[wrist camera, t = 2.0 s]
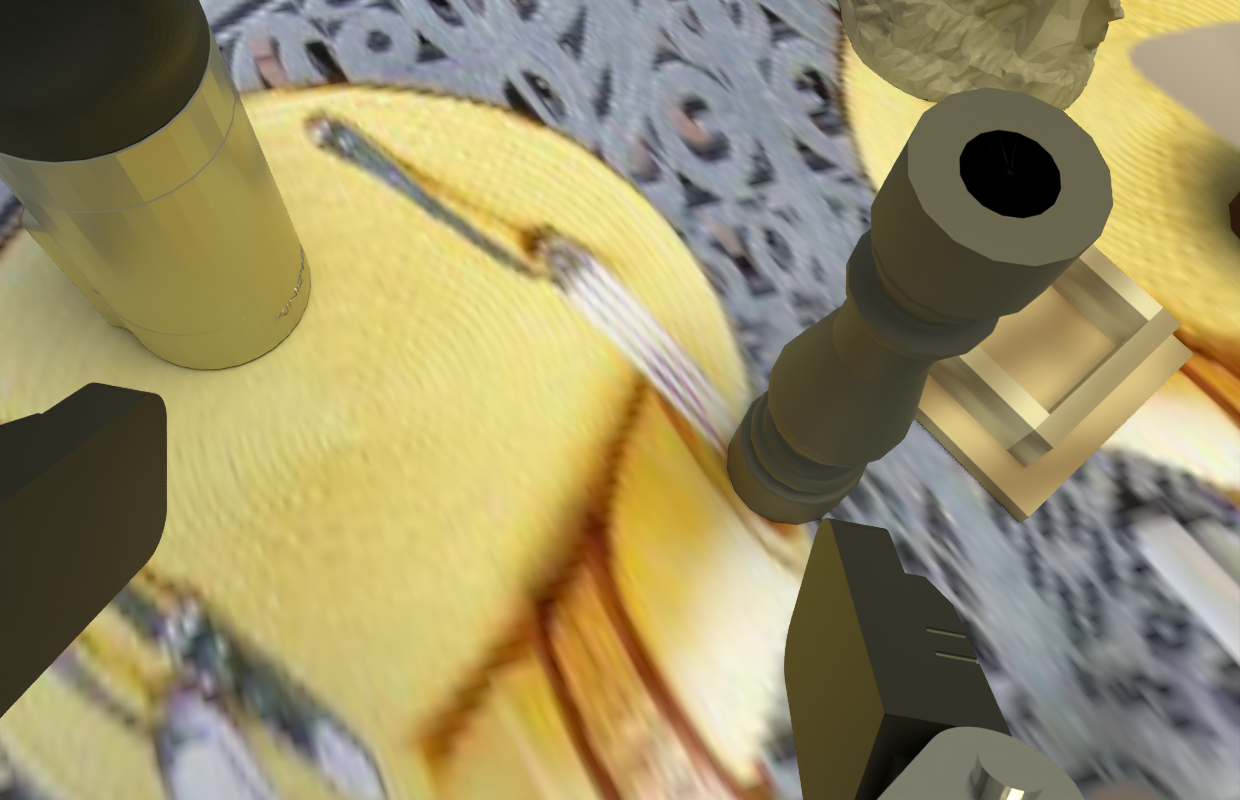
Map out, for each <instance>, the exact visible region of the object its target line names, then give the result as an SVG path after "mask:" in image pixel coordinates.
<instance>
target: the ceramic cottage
mask: <svg viewBox="0 0 1240 800" xmlns="http://www.w3.org/2000/svg"><path fill="white" fill-rule="evenodd" d="M838 1H839V5H840V8H841V17H842V22H843V24H844V27H845V30H846V33H847V35H848V37H850V40H851V41H852V42H853V43H852V46H853V49H854V51H855V52H856V54H857V55H858V56H859V58H860V59H861V60H862V62H863V63H864V64H865V65H866V66H868V67H869V68H870V69H871V70H872V71H874V72H875V73H876V74H878V75H879V76H880V77H881V78H883V79H884V80H885V81H887V82H888V83H890V84H891V85H893V86H896V87H897V88H898V89H900V90H902V91H903V92H905V93H907V94H910V95H912V96H914V97H917V98H919V99H927V100H928V101H929V102H940V101H942V100H943V99H945V98H946V97H948V96H949V95H950V94H954V93H959V92H965V91H970V90H975V89H980V88H985V87H989V88H996V89H1003V90H1009V91H1016V92H1023V93H1027V94H1029V95H1031V96H1033V97H1035V98H1037V99H1040V100H1042V101H1044V102H1046V103H1048V104H1050V105H1052V106H1054V107H1056V108H1058V109H1061V110H1066V108H1067V107H1068V108H1069V106H1070V105H1071V104H1072V103H1073V102H1074V101H1075V100H1076V99H1077V98H1078V97H1079V96H1080V95H1081V93H1082V91H1083V89H1084V87H1085V86H1086V85H1087V81H1088V79H1089V77H1090V75H1091V73H1092V71H1093V68H1094V57H1095V54H1096V51H1097V47H1098V46H1099V44H1100V42H1102V41H1104V39H1105V36H1106V33H1107V29H1108V26H1109V24H1108V22H1110V21H1114V20H1118V19H1122V18H1124V11H1123V9H1122V8H1121V6H1120V0H838Z"/></svg>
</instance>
